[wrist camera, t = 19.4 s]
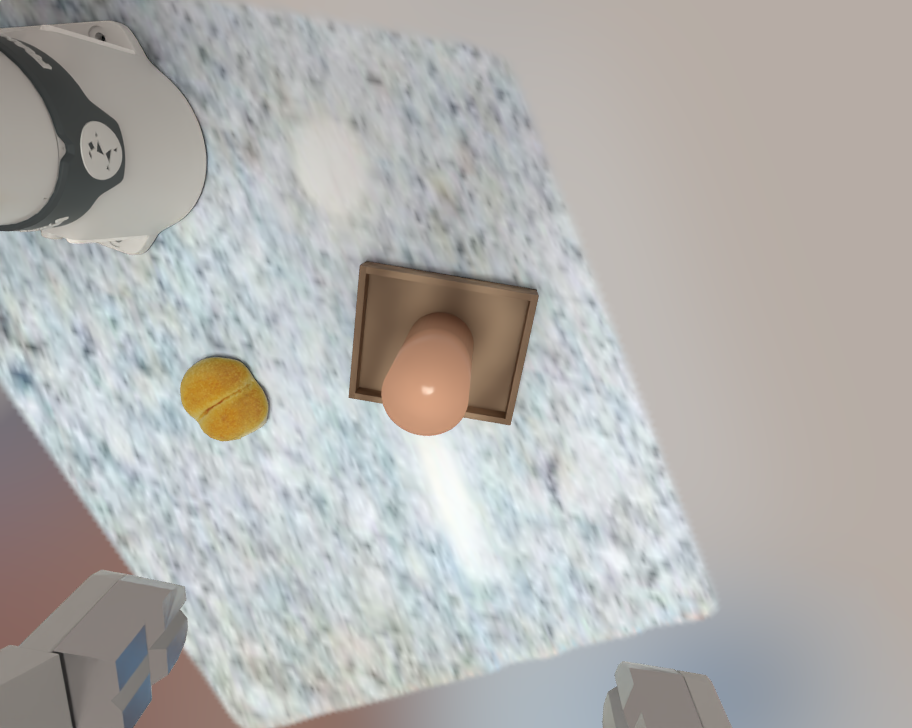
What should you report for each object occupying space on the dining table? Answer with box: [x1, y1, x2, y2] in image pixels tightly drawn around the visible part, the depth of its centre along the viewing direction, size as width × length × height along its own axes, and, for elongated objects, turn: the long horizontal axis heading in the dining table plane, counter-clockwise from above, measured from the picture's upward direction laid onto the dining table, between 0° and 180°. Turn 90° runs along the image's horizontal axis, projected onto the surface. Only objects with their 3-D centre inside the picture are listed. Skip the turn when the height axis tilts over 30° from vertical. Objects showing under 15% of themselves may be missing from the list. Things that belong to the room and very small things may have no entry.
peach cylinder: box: [381, 312, 474, 436], centre depth 42 cm, size 6×6×12 cm
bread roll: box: [180, 357, 269, 441], centre depth 50 cm, size 8×9×4 cm
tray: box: [349, 261, 539, 425], centre depth 47 cm, size 16×13×2 cm
